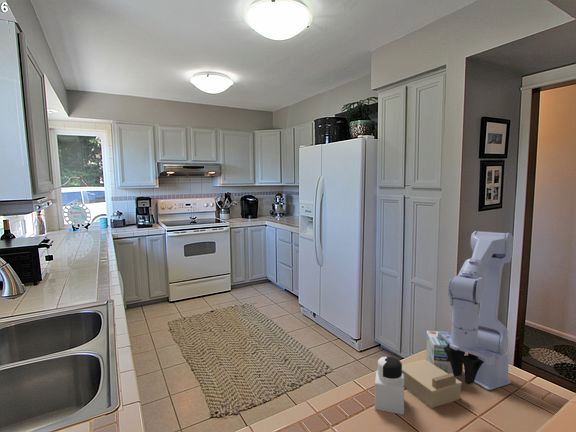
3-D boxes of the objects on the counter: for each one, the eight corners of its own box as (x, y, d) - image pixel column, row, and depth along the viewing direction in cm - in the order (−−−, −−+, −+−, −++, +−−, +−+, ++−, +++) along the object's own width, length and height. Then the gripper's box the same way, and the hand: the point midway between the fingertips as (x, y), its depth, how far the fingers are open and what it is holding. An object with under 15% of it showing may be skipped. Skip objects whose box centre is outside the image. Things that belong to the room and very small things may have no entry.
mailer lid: (424, 360, 99) (424, 352, 99) (461, 384, 87) (462, 374, 86) (397, 367, 95) (397, 359, 95) (432, 393, 83) (432, 383, 83)
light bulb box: (457, 382, 95) (458, 346, 94) (433, 379, 96) (433, 344, 96) (447, 363, 105) (447, 331, 105) (425, 361, 107) (425, 329, 106)
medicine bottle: (403, 398, 88) (404, 355, 87) (403, 415, 81) (404, 369, 80) (376, 393, 90) (376, 351, 89) (374, 409, 83) (374, 364, 82)
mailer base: (424, 374, 99) (424, 361, 99) (460, 398, 87) (460, 384, 87) (397, 381, 96) (398, 368, 95) (431, 408, 83) (432, 393, 83)
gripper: (429, 317, 84) (428, 367, 85) (479, 340, 71) (478, 400, 72) (449, 313, 87) (448, 362, 88) (502, 335, 73) (500, 392, 74)
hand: (463, 379), depth 80 cm, fingers open, 3 cm apart
